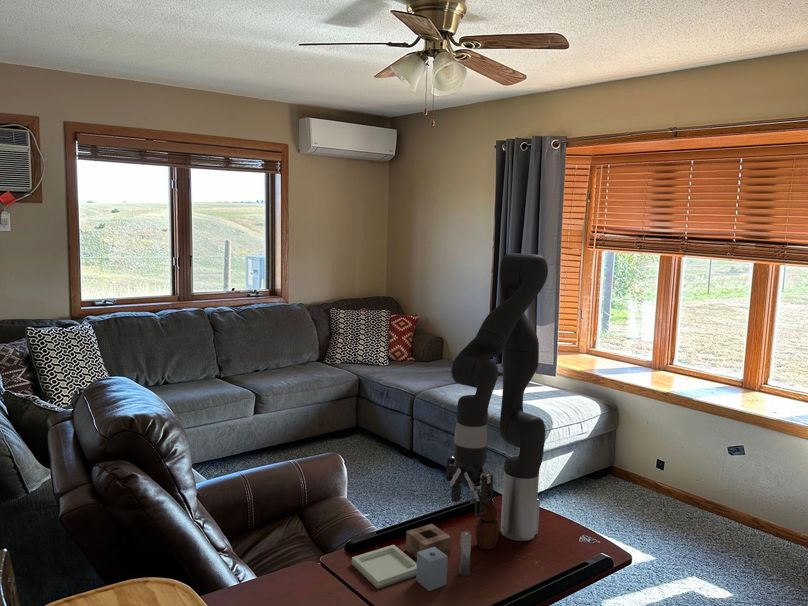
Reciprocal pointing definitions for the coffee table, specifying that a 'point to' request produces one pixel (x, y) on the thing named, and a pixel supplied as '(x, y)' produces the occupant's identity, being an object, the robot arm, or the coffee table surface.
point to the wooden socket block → (427, 540)
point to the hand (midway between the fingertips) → (467, 507)
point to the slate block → (431, 568)
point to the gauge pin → (465, 553)
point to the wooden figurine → (487, 527)
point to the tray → (385, 566)
